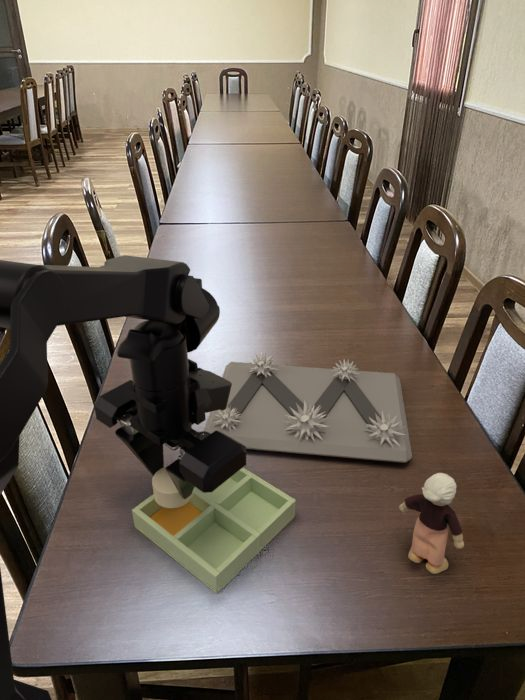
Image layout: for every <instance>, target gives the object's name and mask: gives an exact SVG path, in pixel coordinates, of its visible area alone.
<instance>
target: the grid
mask: <svg viewBox="0 0 525 700" xmlns="http://www.w3.org/2000/svg"><path fill="white" fill-rule="evenodd" d="M296 505H297V500H296V499H295V498H293V497H292V496H290V495H288V494H287V493H285V492H284V491H282V490H280V489H279V488H278V487H276V486H274V485H272V484H271V483H269V482H267V481H266V480H264V479H263V478H261V477H259V476H258V475H257V474H254V473H253V472H252V471H249V470H248V469H247V468H245V467H243V468H241V469H240V470H239V471H238V472H237V473H235V474H234V475H233V476H232V477H230V478H229V479H228V480H227V481H225V482H224V483H223V484H222V485H220V486H219V487H218V488H217V489H215V490H214V491H213V492H207V493H203V492H202V491H201V490H199V489H198V488H196V487H194V489H193V496H192V498H191V499H190V501H189V502H188V503H186V504H185V505H183V506H181V507H177V508H165V507H162V506H160V505H159V504H158V503H157V502H156V501H155V499H154V493H152V495H150V496H149V497H147V498H146V499H144V500H143V501H142V502H140V503H139V504H138V505H137V506H135V507H134V508H132V509H131V514H132V520H133V525H134V526H133V527H134V528H135V529H137V530H138V531H139V532H140V533H141V534H143V535H144V537H146V538H147V539H149V540H150V541H151V542H152V543H153V544H155V545H156V546H157V547H158V548H159V549H160V550H162V551H163V552H164V553H166V554H167V555H169V556H170V557H171V558H172V559H173V560H174V561H176V562H177V563H178V564H180V565H181V566H182V567H183V568H184V569H185V570H187V571H188V572H189V573H190V574H192V575H193V576H194V577H195V578H196V579H197V580H198V581H200V582H201V583H203V584H204V585H205V586H207V588H208V589H210V590H211V591H212V592H214V594H216V595H218V594H219V593H220V592H221V591H222V590H223V589H224V588H225V587H226V586H227V585H228V584H229V583H230V582H231V581H232V580H233V579H234V578H235V577H236V576H237V575H238V574H239V573H240V572H241V571H242V570H243V569H244V568H245V567H246V566H247V565H248V564H249V563H250V562H251V561H253V559H254V558H255V557H256V556H258V554H259V553H261V551H262V550H263V549H264V548H265V547H266V546H267V545H268V544H269V543H270V542H271V541H272V540H273V539H274V538H275V537H276V536H277V535H278V534H279V533H280V532H281V531H282V530H283V529H284V528H285V527H286V526H288V524H289V523H291V522H292V521H293V519H295V517H296Z"/></svg>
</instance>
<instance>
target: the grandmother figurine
mask: <svg viewBox="0 0 525 700" xmlns="http://www.w3.org/2000/svg"><path fill="white" fill-rule="evenodd" d="M421 490H422V494H419V493H418V494H414V495H411V496H408V497H406V498H404V501H402V503H400V504H399V506H398V509H399V511H400V512H401V513H403V514H406V513H407V512H408V511H409V510H412V511H416V512H418V513H419V514H418V516H417V518H416V521H415V523H414V529H413V531H412V532H413V533H412V541H411V547H410V549H409V552H408V559H409V560H410V561H411V562H413V563H415V564H420V563H422V562H423V561H424V560H427V562H426V563H425V569H426V570H427V571H428V572H429V573H430V574H433V575H437V574H440V573H442V572H444V571H446V570H447V569H448V568H449V562H448V560H447V558H446V557H445V554H446V548H447V543H448V537H449V536H448V535H449V531H450V534H451V536H452V540H453V545H454V547H455V548H456V549H457V550H462V549H464V547H465V542H464V535H463V529H462V528H463V527H462V526H461V523H460V521H459V518H458V516H457V513H456V512H455V510H454V509H453V508H452V507H451V506H449V504H451V503H453V499H454V498H455V497H456V493H457V483H456V482H455V479H454V477H452V476H450V475H449V474H447V473H444V472H437V473H434V474H433V475H431V476H429V477H428V478H427V479H426V480H425V481H424V484H423V487H421ZM448 530H449V531H448Z"/></svg>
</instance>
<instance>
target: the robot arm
mask: <svg viewBox="0 0 525 700" xmlns="http://www.w3.org/2000/svg"><path fill="white" fill-rule="evenodd" d="M190 273H191V268H190V266H189V265H188V263H186V262H183V261H175V260H170V259H169V260H168V259H160V258H153V257H152V258H151V257H143V256H134V255H125V254H124V255H120V256H115V257H112V258H108V259H106V260H105V261H104V263H103V265H101V266H82V265H81V266H79V265H56V264H53V265H52V264H35V263H26V262H20V261H12V260H2V259H0V328H3V329H9V349H8V352H7V353H6V355H5V356H4V357H3V359H2V360H1V362H0V496H1V495H2V494H3V492H4V491H5V488H6V487H7V485H8V484H9V482H10V480H11V479H12V478H13V476H14V474H15V473H16V472H17V470H18V467H19V461H20V439H21V438H20V436H21V434H22V433H23V431H24V429H25V427H26V426H27V424H28V422H29V420H30V419H31V417H32V415H33V414H34V412H35V410H36V409H37V407H38V405H39V404H40V402H41V400H42V399H43V397H44V395H45V394H46V391H47V388H48V385H49V376H48V341H49V339H51V336H52V335H53V333H54V331H55V330H56V328H57V327H59V326H67V325H73V324H79V323H89V322H95V321H96V322H97V321H102V320H104V321H105V320H110V319H117V318H118V319H119V318H132V319H137V320H144V321H142V322H140V323H138V324H137V325H135V326H134V328H133V329H131V328H130V329H129V330H128V332H127V335H126V337H125V338H124V340H123V341H122V342H121V343H120V344H119V346H118V349H117V352H116V355H117V357H118V358H120V359H127V360H129V365H130V373H131V379H129V380H128V381H127V380H126V382H124V383H122V384H120V385H118V386H116V387H114V388H111V389H110V390H109V391H107V392H105V393H103V394H101V395H99V396H98V398H97V400H96V402H95V404H94V406H93V408H94V412H95V419H96V420H97V421H99V422H100V423H102V424H103V425H105V426H106V427H108V428H109V429H111V428H113V427H114V426H116V425H117V424H118V422H119V427H118V428H116V430H115V432H114V434H115V436H116V437H117V438H118V439H119V440H120V441H122V443H123V444H124V445H125V446H126V447H127V449H129V450H130V452H131V453H132V454H133V455H134V456H135V457H136V458H137V460H139V462H140V463H141V464H142V465H143V466H144V468H145V469H146V470H147V471H148V472H149V474H150V475H151V476H152V477H153V476H154V474H155V473H156V472H157V471H158V470H160V469H161V468H163V467H166V466H165V459H164V455H165V454H164V446H165V447H167V448H168V449H170V450H172V451H177V450H179V454H180V455H178V458H177V459H175V460H174V461H173V462H172V463H170V464H169V465H167V467H166V468H165V469H166V471H167V473H168V474H169V476H170V478H171V480H172V481H173V483H174V485H175V487H176V488H177V490H178V492H179V493H180V495H181V496H182V498H183V499H186V498H188V497H189V496H190V495H191V494H192V492H193V489H194V487H196V488H198V489H199V490H201V491H202V492H203V493H207V492H213V491H214V490H215V489H217V488H218V487H219V486H220V485H222V484H223V483H224V482H225V481H227V480H228V479H229V478H230V477H232V476H233V475H234V474H235V473H237V472H238V471H239V470H240V469H241V468H245V466H247V449H246V446H244V445H243V444H241V443H239V442H238V441H236V440H234V439H233V438H231V437H229V436H227V435H226V434H224V433H222V432H220V431H217V430H216V431H214V432H213V433H211V434H210V433H208V432H206V431H204V430H202V431H197V430H195V429H194V428H192V427H193V425H197V426H199V425H200V424H202V423H203V422H204V421H206V420H207V417H206V414H208V413H210V412H212V411H216V410H225V409H226V408H227V403H228V399H229V395H230V390H231V386H232V383H231V382H230V381H228V380H226V379H224V378H222V376H220V375H218V374H216V373H214V372H212V371H209V370H206V369H203V368H202V367H198V363H197V362H196V361H194V360H192V359H190V358H189V357H188V356H189V355H188V353H192V352H193V351H196V350H197V349H198V348H199V346H200V345H201V344H202V342H203V341H204V340H205V338H206V337H207V336H208V335H209V334H210V332H211V331H212V329H213V328H214V326H215V325H217V322H218V321H219V318H220V313H221V310H220V309H221V308H220V306H219V304H218V301H217V300H216V298H215V297H214V295H213V294H211V293H210V292H209V291H208V290H207V289H205V288H203V279H202V278H197V277H194V276H193V275H190ZM11 651H12V650H11V645H10V635H9V628H8V619H7V612H6V603H5V594H4V585H3V577H2V569H1V568H0V700H53V699H52V697H51V695H50V692H49V690H47V689H44V688H41V687H38V686H35V685H33V684H29V683H27V682H23V681H20V680H18V679H15V676H14V669H13V661H12V653H11Z"/></svg>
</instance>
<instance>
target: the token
mask: <svg viewBox="0 0 525 700" xmlns="http://www.w3.org/2000/svg"><path fill="white" fill-rule="evenodd" d="M167 466H168V465H167ZM167 466H164V467H163V468H161V469H160V470H158V471H157V472H156V473H155V474H154V476H152V479H151V485H152V490H153V491H152V492H153V493H152V494H154V499H155V501H156V502H157V503H158V504H159V505H160V506H162V507H165V508H177V507H181V506H183V505H185V504H186V503H188V502H189V501H190V499H191V498H192V496H193V492H192V494H191V495H190V496H189V497H188V498H186V499H183V498H182V496H181V495H180V493H179V492H178V490H177V488H176V487H175V485H174V483H173V481H172V480H171V478H170V476H169V474H168V473H167V471H166V469H165V468H166V467H167Z"/></svg>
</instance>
